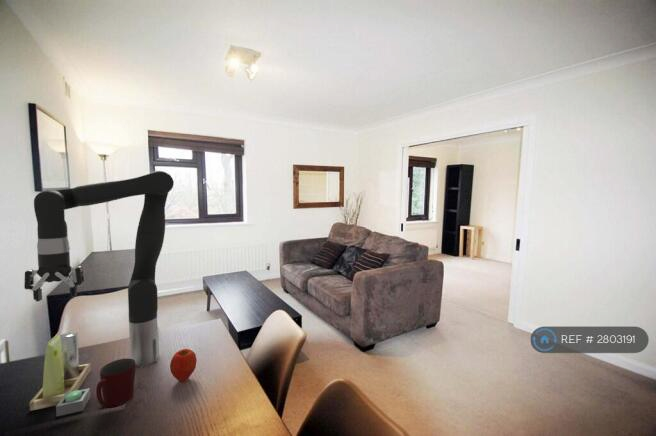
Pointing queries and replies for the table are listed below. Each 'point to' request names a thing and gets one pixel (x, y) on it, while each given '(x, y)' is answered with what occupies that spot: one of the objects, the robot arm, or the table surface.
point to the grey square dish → (72, 404)
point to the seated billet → (70, 355)
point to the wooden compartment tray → (69, 386)
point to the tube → (53, 368)
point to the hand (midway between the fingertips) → (56, 298)
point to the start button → (74, 396)
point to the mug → (116, 382)
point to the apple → (183, 364)
